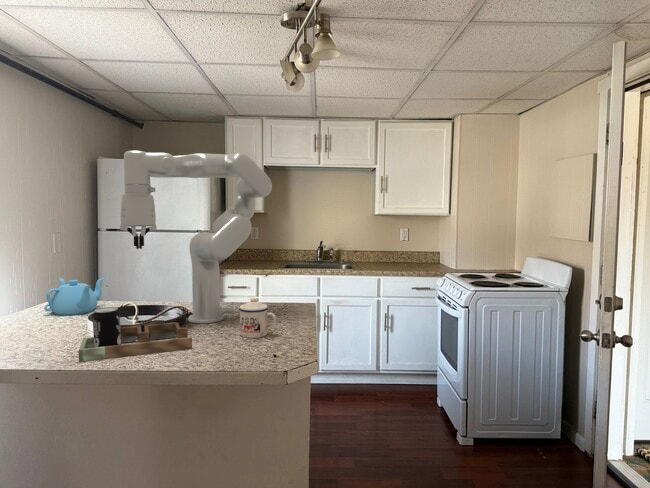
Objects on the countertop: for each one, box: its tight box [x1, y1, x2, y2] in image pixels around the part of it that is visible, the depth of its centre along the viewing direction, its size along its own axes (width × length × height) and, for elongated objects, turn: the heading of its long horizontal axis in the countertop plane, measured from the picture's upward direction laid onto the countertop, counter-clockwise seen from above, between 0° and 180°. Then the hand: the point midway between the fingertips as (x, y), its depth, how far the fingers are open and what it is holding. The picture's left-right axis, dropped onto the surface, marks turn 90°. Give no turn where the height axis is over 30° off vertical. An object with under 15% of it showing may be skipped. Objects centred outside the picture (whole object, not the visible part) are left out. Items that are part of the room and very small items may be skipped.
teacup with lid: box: [238, 297, 277, 339], centre depth 134 cm, size 12×9×12 cm
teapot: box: [43, 277, 106, 316], centre depth 163 cm, size 17×19×12 cm
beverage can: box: [92, 306, 122, 348], centre depth 115 cm, size 7×7×12 cm
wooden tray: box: [78, 321, 193, 363], centre depth 123 cm, size 28×20×3 cm
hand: (139, 248), depth 134 cm, fingers closed
